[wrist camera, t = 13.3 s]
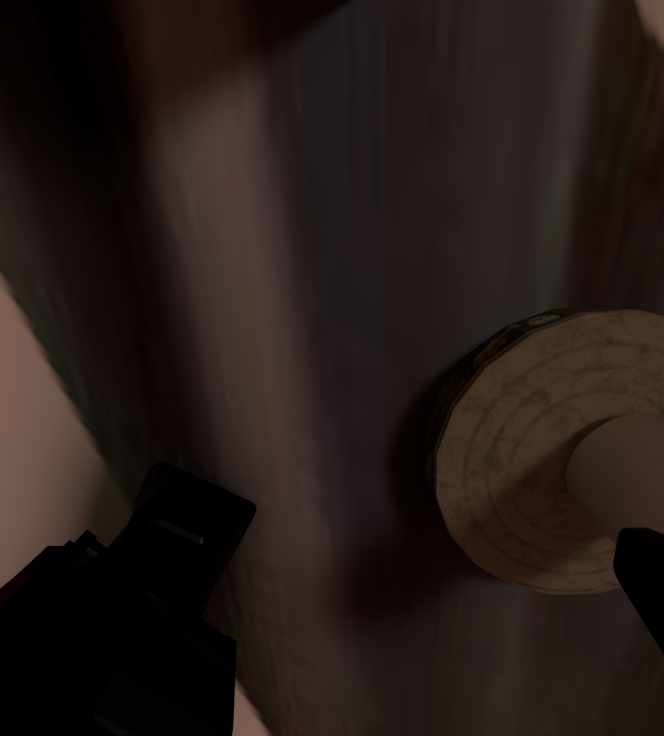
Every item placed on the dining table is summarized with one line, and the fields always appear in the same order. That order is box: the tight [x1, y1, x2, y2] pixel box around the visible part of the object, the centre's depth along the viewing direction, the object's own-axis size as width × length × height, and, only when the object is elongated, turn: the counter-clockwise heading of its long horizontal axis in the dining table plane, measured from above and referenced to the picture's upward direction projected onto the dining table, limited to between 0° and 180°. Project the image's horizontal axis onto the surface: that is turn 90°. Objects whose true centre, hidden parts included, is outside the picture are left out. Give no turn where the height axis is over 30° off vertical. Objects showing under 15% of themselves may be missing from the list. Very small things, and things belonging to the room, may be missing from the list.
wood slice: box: [424, 306, 664, 595], centre depth 19 cm, size 16×16×3 cm
